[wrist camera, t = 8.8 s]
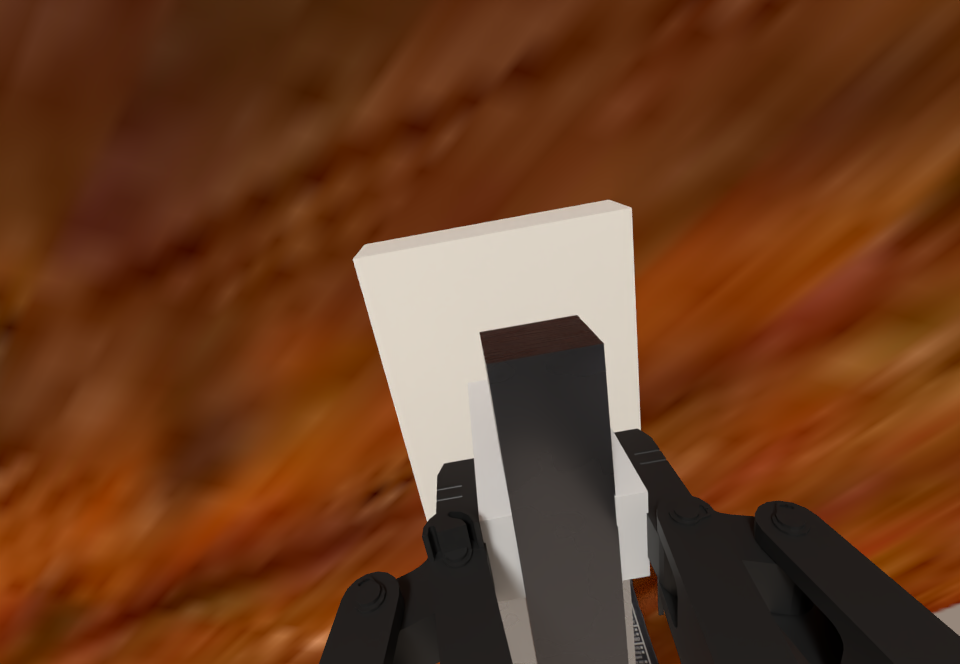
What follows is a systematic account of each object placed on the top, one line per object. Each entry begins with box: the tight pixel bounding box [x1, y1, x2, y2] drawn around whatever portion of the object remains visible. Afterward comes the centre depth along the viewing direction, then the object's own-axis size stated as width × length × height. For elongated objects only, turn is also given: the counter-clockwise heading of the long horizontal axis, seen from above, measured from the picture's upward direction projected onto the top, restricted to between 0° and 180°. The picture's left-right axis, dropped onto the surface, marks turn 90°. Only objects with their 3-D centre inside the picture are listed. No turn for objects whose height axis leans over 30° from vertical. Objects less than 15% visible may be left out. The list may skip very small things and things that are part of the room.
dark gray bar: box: [479, 315, 636, 664], centre depth 16 cm, size 24×6×6 cm, turn 9°
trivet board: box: [353, 200, 641, 522], centre depth 24 cm, size 16×12×3 cm
